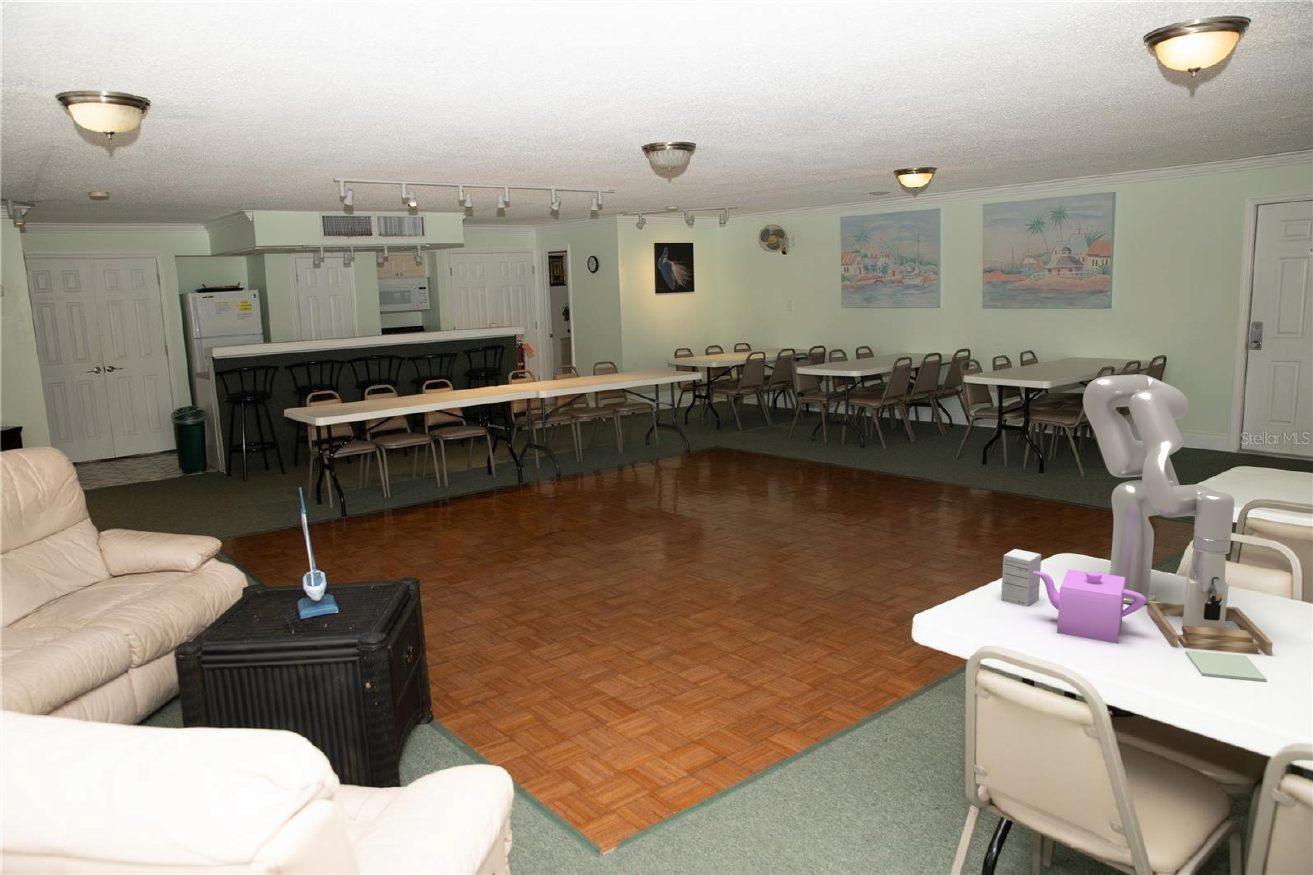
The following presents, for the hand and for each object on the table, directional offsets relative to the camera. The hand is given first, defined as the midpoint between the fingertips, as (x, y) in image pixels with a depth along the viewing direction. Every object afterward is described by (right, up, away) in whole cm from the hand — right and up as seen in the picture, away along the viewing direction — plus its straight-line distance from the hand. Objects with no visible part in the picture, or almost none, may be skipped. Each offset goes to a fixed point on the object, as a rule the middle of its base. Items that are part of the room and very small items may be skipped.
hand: (1204, 612), depth 212 cm
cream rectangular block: (0, -4, +1) cm, 4 cm away
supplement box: (-35, -1, +22) cm, 42 cm away
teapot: (-27, -5, +4) cm, 28 cm away
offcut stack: (-3, -6, -9) cm, 11 cm away
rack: (-1, -5, -1) cm, 5 cm away
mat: (-8, -8, -19) cm, 22 cm away
